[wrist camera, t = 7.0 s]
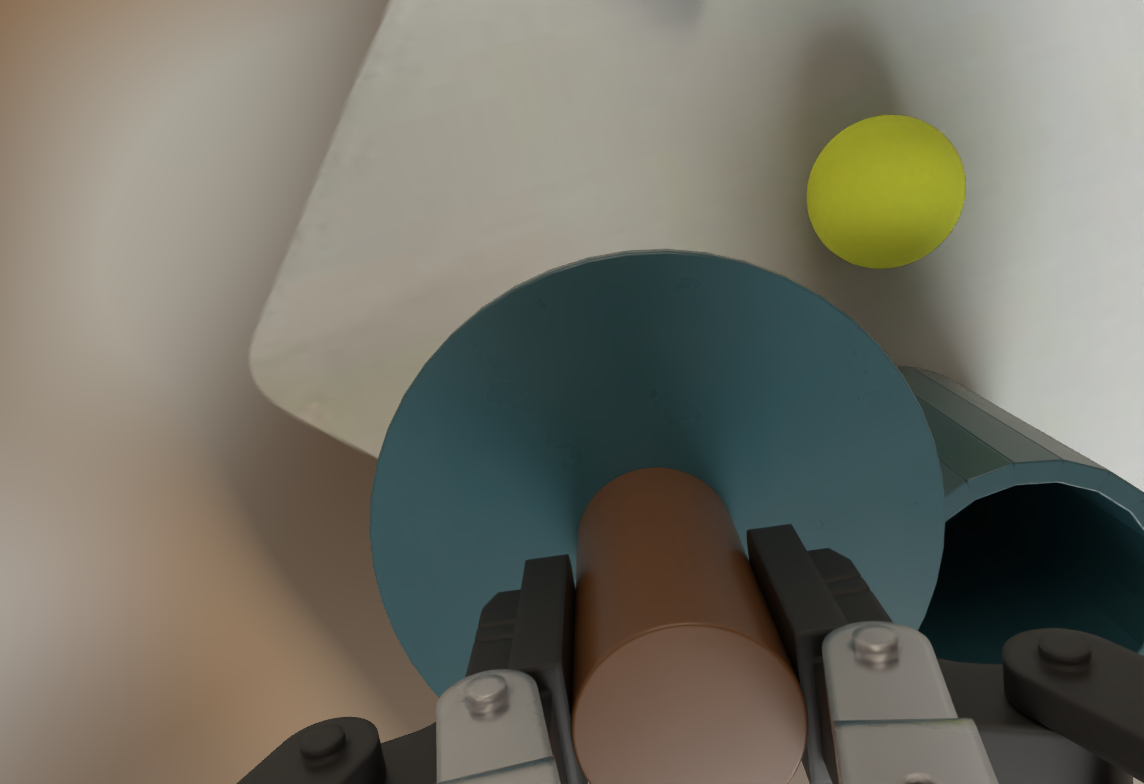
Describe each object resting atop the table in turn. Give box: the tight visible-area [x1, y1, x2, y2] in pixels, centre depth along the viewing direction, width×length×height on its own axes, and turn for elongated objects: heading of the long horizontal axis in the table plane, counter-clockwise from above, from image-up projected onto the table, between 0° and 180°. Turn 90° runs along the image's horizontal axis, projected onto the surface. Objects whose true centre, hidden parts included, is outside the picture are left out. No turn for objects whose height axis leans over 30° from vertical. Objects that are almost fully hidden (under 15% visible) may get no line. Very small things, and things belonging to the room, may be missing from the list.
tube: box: [897, 367, 1144, 665], centre depth 37 cm, size 10×10×15 cm
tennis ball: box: [807, 115, 966, 269], centre depth 38 cm, size 6×6×6 cm
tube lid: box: [370, 249, 946, 784], centre depth 15 cm, size 11×11×7 cm
